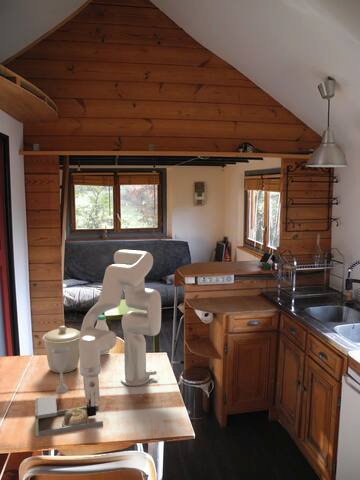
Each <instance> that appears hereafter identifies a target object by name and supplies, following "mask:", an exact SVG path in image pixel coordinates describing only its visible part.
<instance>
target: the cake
mask: <svg viewBox="0 0 360 480" xmlns="http://www.w3.org/2000/svg"><path fill="white" fill-rule="evenodd" d="M73 408H74V409H72V408H70V409H71V410H68V411H67V412H66V413H65V414H64V417H63V419H62V422H61V424H62V425H61V426H62V427H66V426H67V423H66V422H67V421H68V426H72V425H78V424H85V423H89V421H90V419H89V417H88V415H87V411H86V410H84V409H83V408H82V409H80V408H78V407H73Z"/></svg>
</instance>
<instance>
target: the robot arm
mask: <svg viewBox="0 0 360 480" xmlns="http://www.w3.org/2000/svg"><path fill="white" fill-rule="evenodd" d="M113 261H114V264H110V265H108V266H107V267H106V269H105V272H104V275H103V276H104V277H103V280H102V285H101V289H100V293H99V298H98V300H97V301H96V303H95V304H94V305H93V306H92V307H91V308H90V309H89V310H88V311H87V313H86V314H85V316H84V317H83V320H82V323H81V328H80V330H79V331H80V340H79V375H81V376H82V378H83V380H82V381H83V391H84V396H85V400H86V406H87V415H88V418H89V417H95V416H96V415H97V409H96V405H97V404H96V402H99V401H101V400H100V399H101V396H100V381H99V380H100V379H99V375H100V374H101V371H102V370H101V355H100V353H101V352H105V351H108V350H112V349H113V348H114V347H115V346H116V344H117V340H118V337H117V335H116V333H115V332H114V331H113V330H110V329H109V330H103V329H97V328H95V327H94V326H95V323H96V322H97V318H98V317H99V316H100V315H103V314H104V313H106V312H108V311H111V310H114V309H116V308H119V307H120V305H121V301H122V295H123V292H124V299H125V305H126V307H128V308H129V309H133V310H130V311H127V312H125V313H123V315H122V318H121V327H122V333H123V339H124V340H123V341H124V343H123V345H124V346H123V348H124V350H123V351H124V374H122V376H121V381H120V382H122V384H124V385H126V386H128V387H129V386H131V387H136V386H137V387H138V386H143V385H145V384H148V382H149V381H150V377H151V376H154V375H157V373H158V372H157V370H156V369H155V370H153V368H149V369H148V368H147V349H146V348H147V344H146V343H147V342H146V339H145V336H149V337H150V336H151V337H154V336H157V335H158V334H159V333H160V331H161V327H162V298H161V294H160V292H159V291H158V290H156V289H154V288H146V285H145V277H146V276H147V275H148V274H149V272H150V271H151V269H152V268H153V264H154V256H153V255H152V253H150V252H149V251H145V250H133V249H119V250H117V251H115V253H114V254H113ZM137 310H139V311H137ZM143 311H146V312H143Z"/></svg>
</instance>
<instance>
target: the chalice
mask: <svg viewBox="0 0 360 480" xmlns="http://www.w3.org/2000/svg"><path fill="white" fill-rule="evenodd" d="M68 350H69V348H68V347H57V348H54V349H53V350H52V352H53V358H54V364H55V366H56V368H57V370H58V371H60V373H59V381H60V383H59V384H58V385H57V387H56V388H55V392H56V393H58V394H64V393H66V392H68V390H69V388H68V386H67V384H65V383H64V382H63V381H64V378H63V377H64V373H62V371H64V370H65V367H66V365H67V362H68Z"/></svg>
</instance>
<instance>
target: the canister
mask: <svg viewBox="0 0 360 480" xmlns="http://www.w3.org/2000/svg"><path fill="white" fill-rule="evenodd" d="M80 331H81V330H78V329H76V328H72V327H67V326H66V325H60V326H59V327H58V328H56V329H55V328H54V329H52V330H49V331H48V332H46V333H45V334H44V335H43V336H42V340H43V341H44V347H45V352H46V359H47V364H48V367H49V369H50V370H51V372H52V373H53V372H54V373H56V374H60V371H58V370H57V368H56V366H55V364H54V358H53V352H52V350H53V349H54V348H57V347H68V348H69V350H68V362H67V365H66V367H65V370H64V371H62V373H63V374H65V373H70V372H73V371H74V370H76V369H77V367H78V366H79V364H80V357H79V340H80Z"/></svg>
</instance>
